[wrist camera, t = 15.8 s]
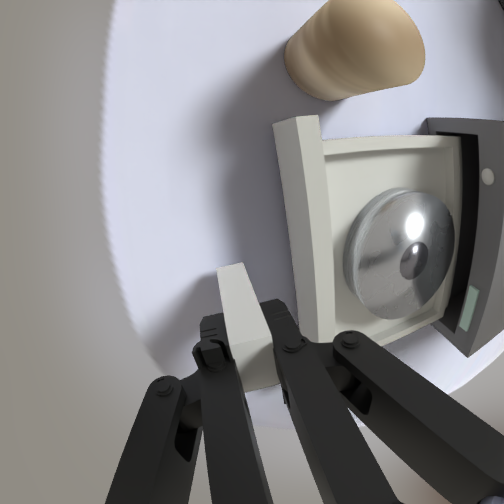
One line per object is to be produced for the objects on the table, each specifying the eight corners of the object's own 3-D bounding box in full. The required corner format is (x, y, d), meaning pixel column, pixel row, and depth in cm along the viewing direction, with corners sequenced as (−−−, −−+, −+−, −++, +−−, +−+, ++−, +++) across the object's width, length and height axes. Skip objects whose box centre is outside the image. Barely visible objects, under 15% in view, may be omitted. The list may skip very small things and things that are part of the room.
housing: (504, 128, 17) (556, 137, 10) (494, 274, 23) (534, 299, 17) (424, 117, 15) (501, 120, 9) (418, 315, 22) (465, 359, 15)
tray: (445, 120, 15) (482, 122, 12) (435, 309, 22) (460, 330, 18) (271, 123, 14) (295, 116, 10) (302, 362, 20) (319, 397, 17)
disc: (439, 184, 15) (460, 190, 13) (427, 288, 18) (444, 301, 16) (342, 192, 14) (362, 199, 12) (339, 316, 17) (354, 334, 15)
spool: (276, 27, 12) (316, -22, 6) (351, 31, 12) (408, 0, 7) (292, 103, 14) (344, 82, 8) (366, 100, 14) (434, 90, 9)
